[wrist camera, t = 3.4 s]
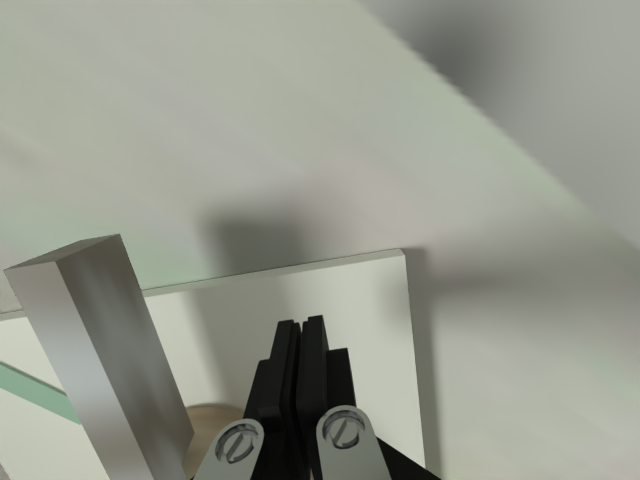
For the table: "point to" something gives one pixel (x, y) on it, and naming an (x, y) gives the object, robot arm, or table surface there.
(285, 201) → the table surface
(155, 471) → the cam dial
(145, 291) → the stand plate
